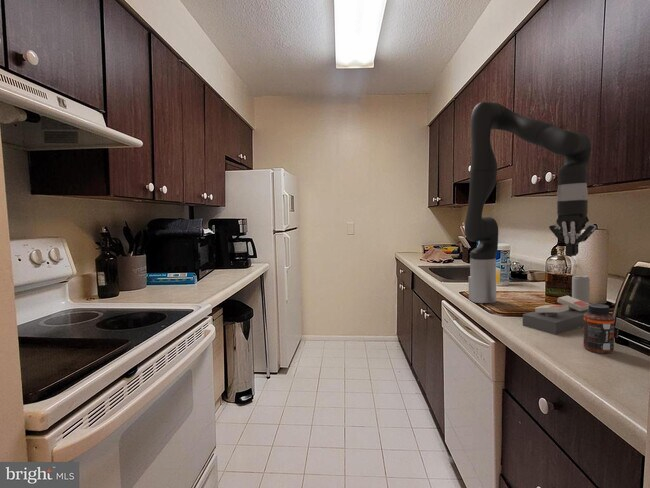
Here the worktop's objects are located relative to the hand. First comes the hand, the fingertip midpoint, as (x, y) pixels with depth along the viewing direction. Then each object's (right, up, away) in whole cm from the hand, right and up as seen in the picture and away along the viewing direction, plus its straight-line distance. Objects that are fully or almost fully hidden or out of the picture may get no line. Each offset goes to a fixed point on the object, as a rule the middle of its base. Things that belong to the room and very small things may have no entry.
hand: (572, 255), depth 105 cm
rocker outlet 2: (+2, -15, +2) cm, 15 cm away
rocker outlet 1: (-8, -16, -2) cm, 18 cm away
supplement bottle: (-8, -23, -20) cm, 32 cm away
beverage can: (+12, -20, +12) cm, 26 cm away
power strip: (-3, -21, 0) cm, 21 cm away
